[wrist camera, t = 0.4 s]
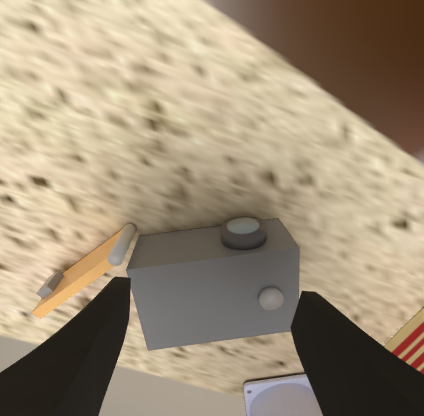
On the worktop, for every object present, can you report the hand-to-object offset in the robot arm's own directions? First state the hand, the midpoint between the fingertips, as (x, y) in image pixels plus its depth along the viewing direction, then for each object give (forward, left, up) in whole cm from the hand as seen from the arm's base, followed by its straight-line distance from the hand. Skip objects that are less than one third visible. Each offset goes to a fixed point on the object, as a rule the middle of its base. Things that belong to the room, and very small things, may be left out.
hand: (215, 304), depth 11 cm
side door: (-2, +9, -10) cm, 13 cm away
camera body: (-5, 0, -10) cm, 11 cm away
